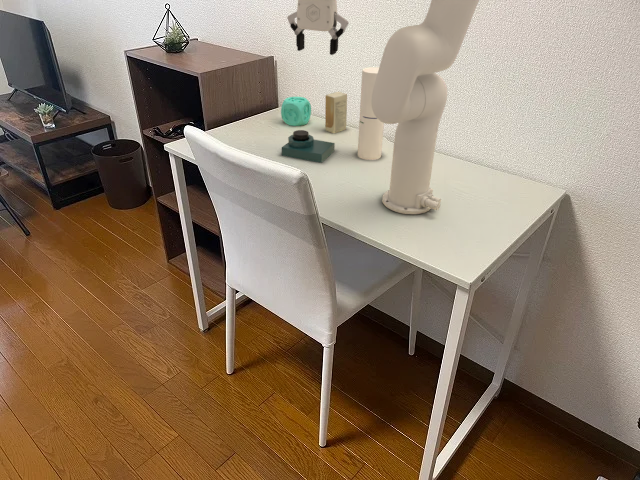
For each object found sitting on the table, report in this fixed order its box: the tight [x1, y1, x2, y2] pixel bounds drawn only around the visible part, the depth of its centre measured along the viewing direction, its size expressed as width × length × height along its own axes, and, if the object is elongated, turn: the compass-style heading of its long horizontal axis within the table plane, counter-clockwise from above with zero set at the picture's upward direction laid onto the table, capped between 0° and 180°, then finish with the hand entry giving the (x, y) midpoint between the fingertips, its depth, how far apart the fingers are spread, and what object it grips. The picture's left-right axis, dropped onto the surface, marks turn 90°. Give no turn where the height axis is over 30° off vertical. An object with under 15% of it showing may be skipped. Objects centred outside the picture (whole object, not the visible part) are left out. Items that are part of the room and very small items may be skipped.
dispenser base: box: [281, 134, 336, 164], centre depth 148 cm, size 13×10×4 cm
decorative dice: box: [280, 96, 312, 127], centre depth 170 cm, size 8×8×8 cm
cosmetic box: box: [324, 91, 348, 134], centre depth 163 cm, size 6×4×12 cm
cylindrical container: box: [357, 66, 385, 161], centre depth 141 cm, size 7×7×25 cm
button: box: [292, 129, 310, 141], centre depth 147 cm, size 5×5×2 cm
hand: (316, 51), depth 134 cm, fingers open, 9 cm apart
